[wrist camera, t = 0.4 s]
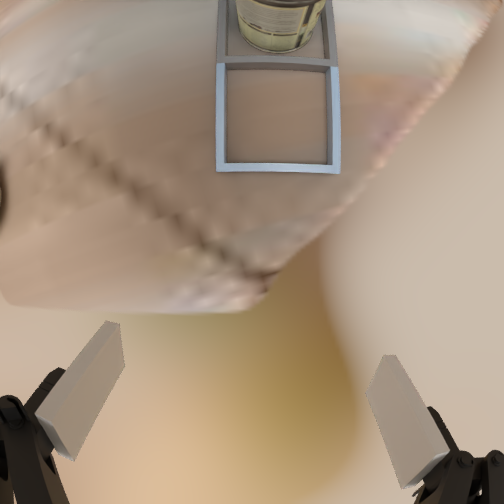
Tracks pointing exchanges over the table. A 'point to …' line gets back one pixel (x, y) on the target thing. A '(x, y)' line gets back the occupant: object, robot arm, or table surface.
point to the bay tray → (283, 63)
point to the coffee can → (278, 23)
